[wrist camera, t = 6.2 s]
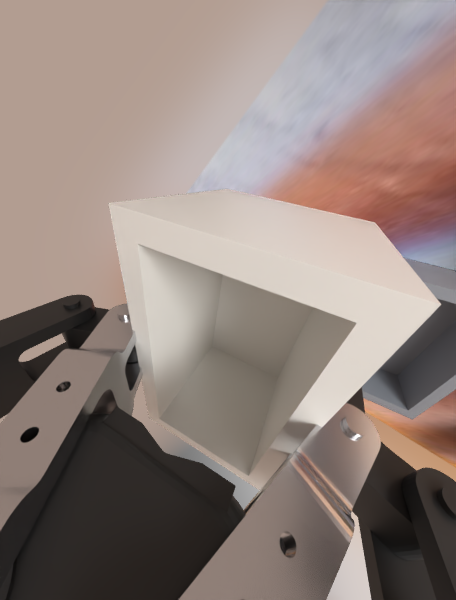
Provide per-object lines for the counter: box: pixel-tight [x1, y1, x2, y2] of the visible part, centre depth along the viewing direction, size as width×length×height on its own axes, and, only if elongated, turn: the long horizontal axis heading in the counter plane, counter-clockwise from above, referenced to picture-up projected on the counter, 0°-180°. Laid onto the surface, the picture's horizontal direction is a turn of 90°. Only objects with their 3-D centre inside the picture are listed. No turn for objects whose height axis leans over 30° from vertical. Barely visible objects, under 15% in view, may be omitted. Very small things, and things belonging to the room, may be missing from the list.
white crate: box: [108, 189, 441, 490], centre depth 9 cm, size 6×10×6 cm, turn 171°
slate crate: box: [362, 258, 456, 419], centre depth 22 cm, size 11×15×6 cm
